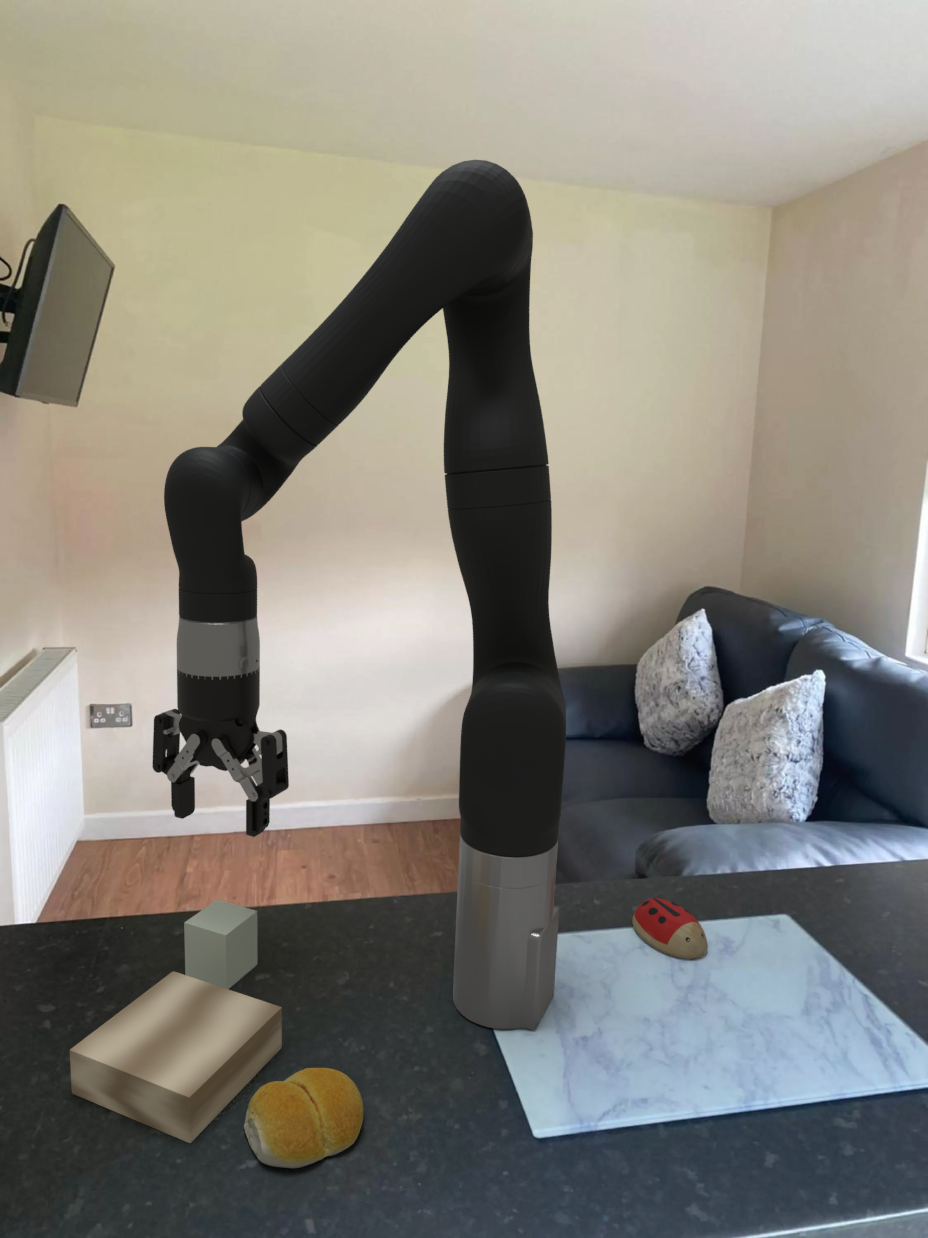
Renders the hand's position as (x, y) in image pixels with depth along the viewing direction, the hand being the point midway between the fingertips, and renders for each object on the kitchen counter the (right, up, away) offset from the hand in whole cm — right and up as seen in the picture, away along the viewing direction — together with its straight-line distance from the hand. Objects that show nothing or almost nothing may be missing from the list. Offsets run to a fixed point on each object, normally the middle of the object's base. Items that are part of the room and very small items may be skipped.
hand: (219, 824), depth 85 cm
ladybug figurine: (+47, -16, +13) cm, 51 cm away
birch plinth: (0, -18, -11) cm, 21 cm away
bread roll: (+11, -20, -17) cm, 29 cm away
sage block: (-1, -16, +3) cm, 16 cm away
